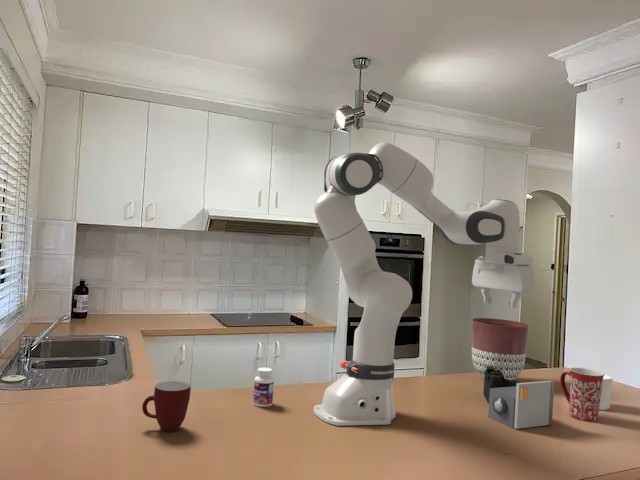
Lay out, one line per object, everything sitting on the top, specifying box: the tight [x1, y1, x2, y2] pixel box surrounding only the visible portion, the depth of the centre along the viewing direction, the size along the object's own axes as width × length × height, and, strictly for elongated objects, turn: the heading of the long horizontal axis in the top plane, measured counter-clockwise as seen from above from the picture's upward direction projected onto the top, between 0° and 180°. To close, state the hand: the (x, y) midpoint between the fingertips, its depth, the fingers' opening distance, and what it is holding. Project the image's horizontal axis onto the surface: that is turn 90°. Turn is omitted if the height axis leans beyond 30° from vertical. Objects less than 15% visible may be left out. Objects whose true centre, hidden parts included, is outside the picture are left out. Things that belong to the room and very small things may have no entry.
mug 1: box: [141, 380, 192, 433], centre depth 119 cm, size 11×8×10 cm
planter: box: [471, 317, 530, 380], centre depth 184 cm, size 20×20×21 cm
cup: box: [599, 374, 613, 411], centre depth 161 cm, size 10×10×10 cm
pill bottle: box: [252, 367, 275, 408], centre depth 141 cm, size 5×5×10 cm
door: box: [513, 380, 555, 430], centre depth 137 cm, size 13×2×12 cm, turn 115°
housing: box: [487, 386, 517, 429], centre depth 141 cm, size 13×9×9 cm
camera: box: [483, 366, 521, 405], centre depth 160 cm, size 14×11×10 cm
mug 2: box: [559, 367, 605, 423], centre depth 150 cm, size 13×9×14 cm
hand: (499, 305), depth 145 cm, fingers open, 8 cm apart
